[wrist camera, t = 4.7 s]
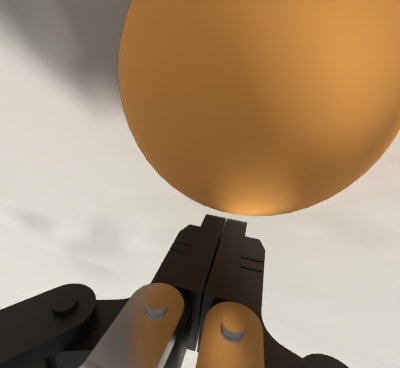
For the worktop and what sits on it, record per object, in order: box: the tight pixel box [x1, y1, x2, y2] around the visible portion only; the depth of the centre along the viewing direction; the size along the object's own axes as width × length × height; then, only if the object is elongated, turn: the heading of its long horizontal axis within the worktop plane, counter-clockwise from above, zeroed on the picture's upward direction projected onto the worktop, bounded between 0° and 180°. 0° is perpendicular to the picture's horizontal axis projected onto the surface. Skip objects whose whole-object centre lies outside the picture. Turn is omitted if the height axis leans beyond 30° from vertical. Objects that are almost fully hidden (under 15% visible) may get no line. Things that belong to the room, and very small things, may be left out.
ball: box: [118, 0, 400, 216], centre depth 6 cm, size 6×6×6 cm
